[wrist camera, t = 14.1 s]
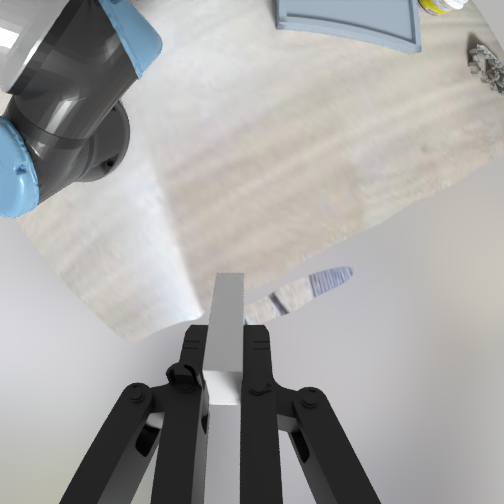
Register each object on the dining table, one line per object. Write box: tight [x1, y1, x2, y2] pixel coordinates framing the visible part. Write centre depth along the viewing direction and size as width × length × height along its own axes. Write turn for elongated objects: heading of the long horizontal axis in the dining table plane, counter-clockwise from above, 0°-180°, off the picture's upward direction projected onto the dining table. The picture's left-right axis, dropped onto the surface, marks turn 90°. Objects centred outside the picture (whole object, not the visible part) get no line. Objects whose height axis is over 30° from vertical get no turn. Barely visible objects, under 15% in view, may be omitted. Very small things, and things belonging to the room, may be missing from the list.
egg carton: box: [468, 44, 504, 96], centre depth 27 cm, size 11×8×4 cm
